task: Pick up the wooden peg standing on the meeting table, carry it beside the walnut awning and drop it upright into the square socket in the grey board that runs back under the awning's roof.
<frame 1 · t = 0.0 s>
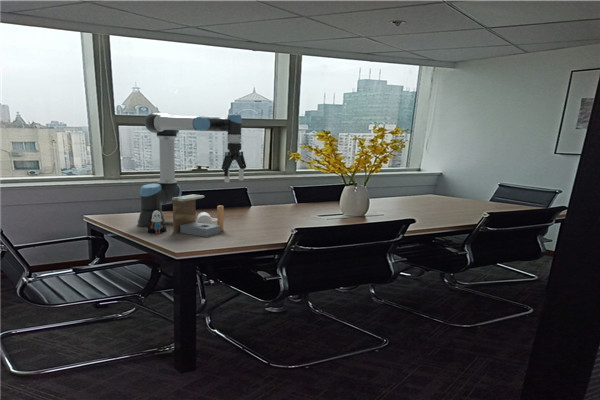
hand: (234, 181, 245), 28 cm above the table, fingers open, 13 cm apart
figurine: (157, 232, 240), on the table
mug: (207, 227, 257), on the table
awning: (184, 230, 246), on the table
peg: (220, 230, 248), on the table
socket board: (200, 232, 241), on the table
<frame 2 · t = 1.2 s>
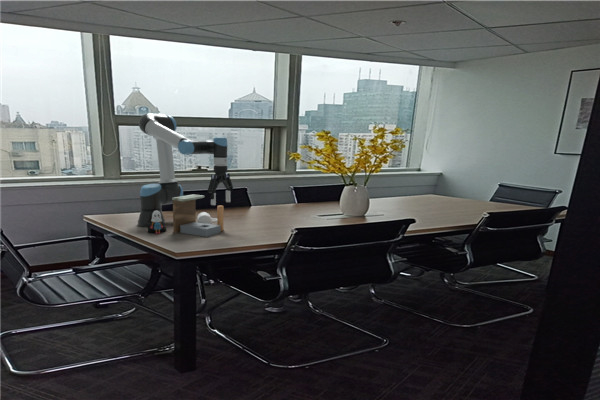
hand: (220, 203, 245), 15 cm above the table, fingers open, 13 cm apart
nothing on the table moved.
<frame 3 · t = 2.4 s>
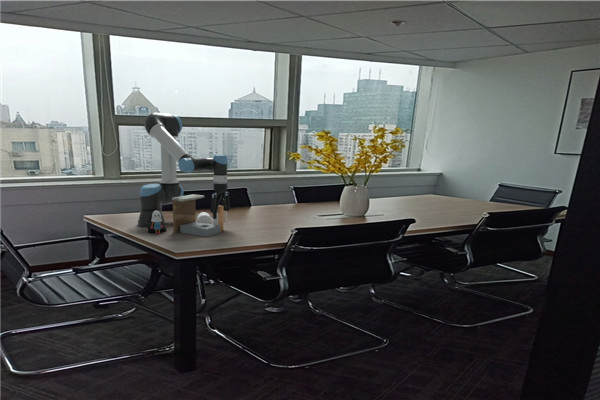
hand: (220, 223, 247), 4 cm above the table, fingers open, 8 cm apart
nothing on the table moved.
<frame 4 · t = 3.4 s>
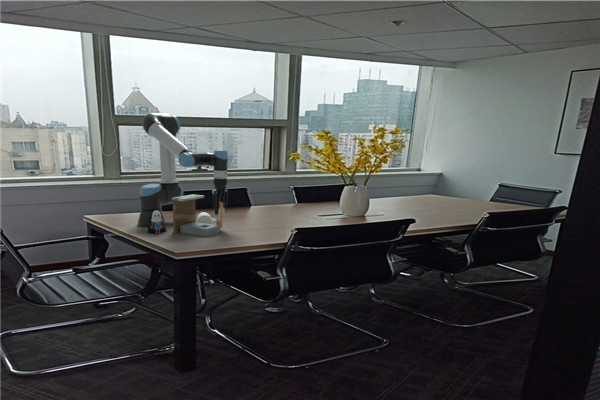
hand: (219, 219, 247), 6 cm above the table, fingers closed on peg, 3 cm apart
peg: (219, 227, 248), point 2 cm above the table, touching gripper
everything else where it was.
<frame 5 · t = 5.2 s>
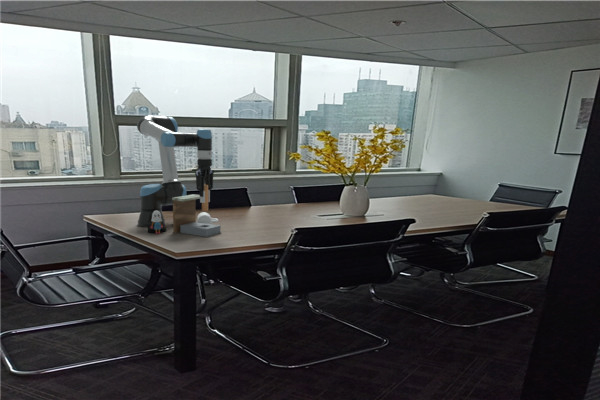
hand: (205, 202, 237), 17 cm above the table, fingers closed on peg, 3 cm apart
peg: (205, 210, 238), point 13 cm above the table, touching gripper
everything else where it was.
when the fingers open (6 cm above the table, at t = 7.1 s): peg stays where it is, resting in socket board.
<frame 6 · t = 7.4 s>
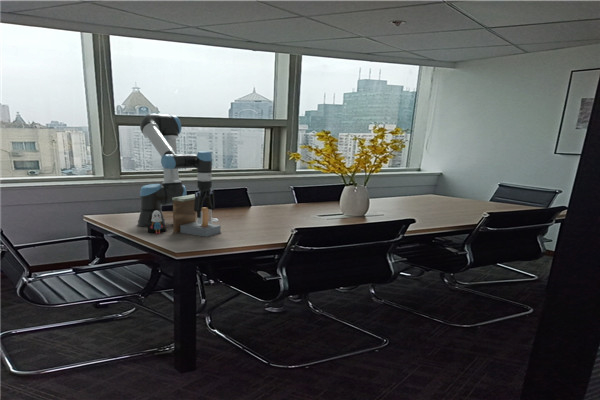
hand: (204, 222, 239), 6 cm above the table, fingers open, 7 cm apart
peg: (204, 233, 240), resting in socket board
everything else where it was.
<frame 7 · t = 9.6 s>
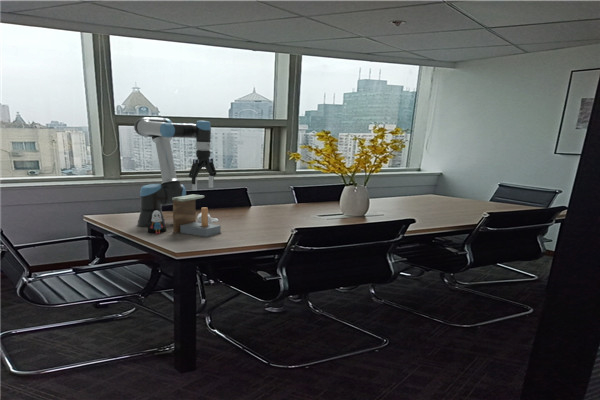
hand: (202, 188, 240), 24 cm above the table, fingers open, 13 cm apart
nothing on the table moved.
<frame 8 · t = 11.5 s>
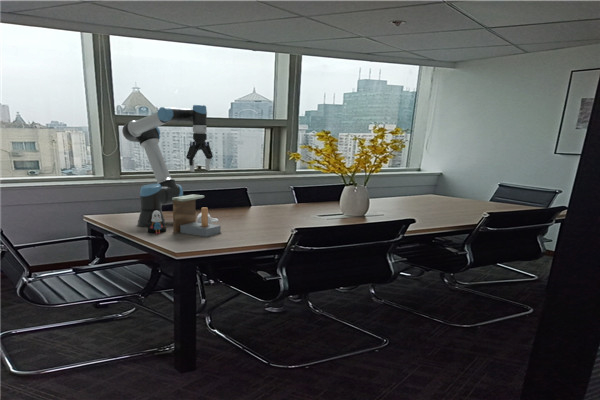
hand: (200, 170, 250), 33 cm above the table, fingers open, 13 cm apart
nothing on the table moved.
at the end: peg 0.0 cm from the target spot on the socket board, point 0.0 cm above the socket board's base; peg tilted 0°; the gripper is holding nothing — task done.
